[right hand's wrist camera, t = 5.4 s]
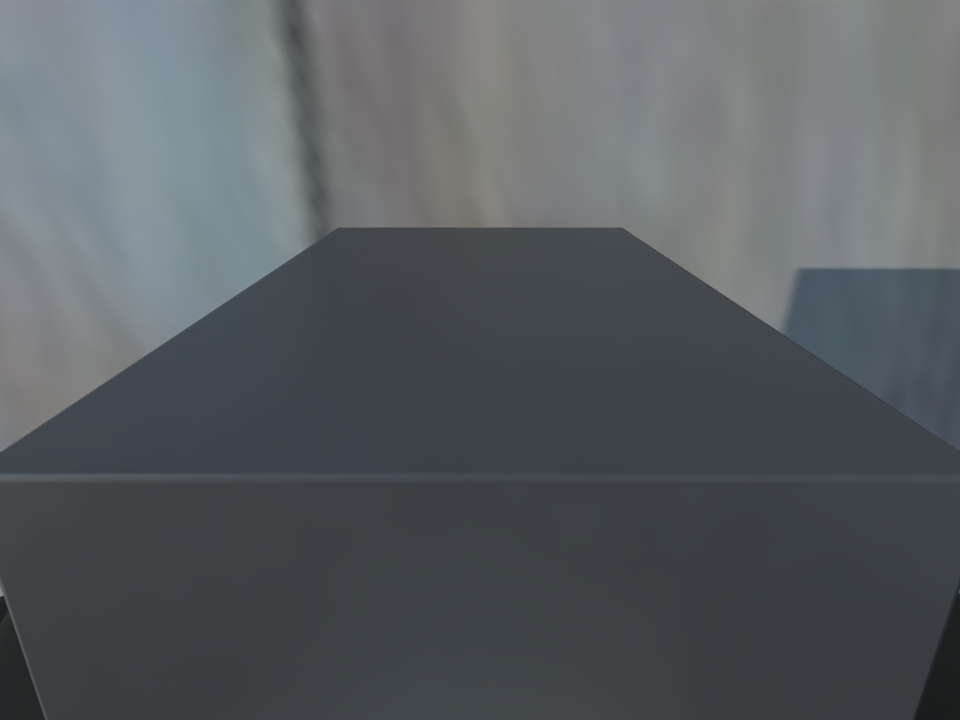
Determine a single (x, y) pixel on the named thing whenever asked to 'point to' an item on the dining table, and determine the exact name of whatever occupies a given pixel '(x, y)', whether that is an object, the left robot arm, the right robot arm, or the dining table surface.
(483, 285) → the box
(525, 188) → the dining table surface
